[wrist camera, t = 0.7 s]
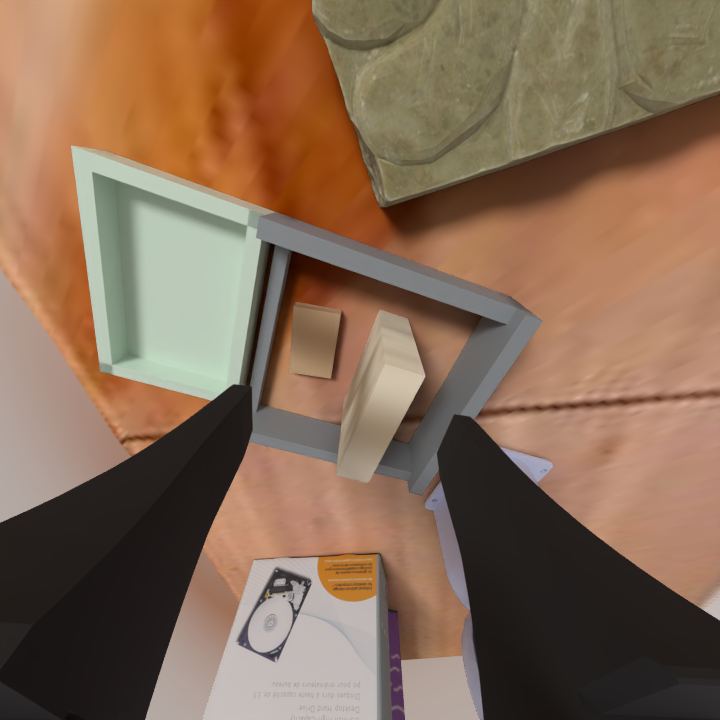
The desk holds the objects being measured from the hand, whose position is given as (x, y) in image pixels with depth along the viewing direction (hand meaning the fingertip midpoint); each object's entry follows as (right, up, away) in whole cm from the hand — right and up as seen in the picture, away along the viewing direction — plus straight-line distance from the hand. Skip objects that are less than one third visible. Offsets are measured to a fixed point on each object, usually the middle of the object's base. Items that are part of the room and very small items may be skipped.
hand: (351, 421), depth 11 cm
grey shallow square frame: (0, +2, +11) cm, 11 cm away
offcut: (-3, +4, +10) cm, 11 cm away
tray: (-11, +6, +8) cm, 15 cm away
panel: (+1, +2, +11) cm, 11 cm away
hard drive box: (-5, -24, +26) cm, 35 cm away
